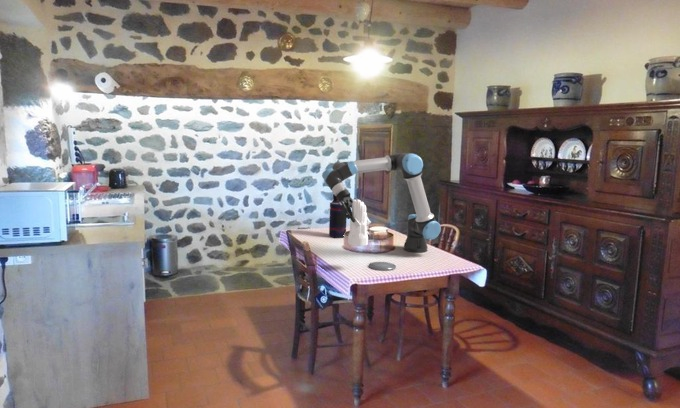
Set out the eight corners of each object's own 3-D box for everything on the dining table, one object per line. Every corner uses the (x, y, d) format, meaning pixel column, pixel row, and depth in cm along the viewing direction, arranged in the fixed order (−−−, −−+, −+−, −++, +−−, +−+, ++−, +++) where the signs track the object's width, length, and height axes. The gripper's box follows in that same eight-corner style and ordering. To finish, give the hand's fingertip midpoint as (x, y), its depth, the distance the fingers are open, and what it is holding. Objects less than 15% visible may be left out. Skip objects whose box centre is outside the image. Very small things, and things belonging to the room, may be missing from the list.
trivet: (378, 261, 280) (378, 260, 280) (400, 266, 271) (400, 265, 271) (363, 266, 268) (363, 265, 268) (386, 272, 259) (386, 270, 259)
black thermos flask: (348, 237, 339) (350, 195, 335) (332, 238, 335) (334, 195, 330) (340, 233, 352) (342, 192, 348) (325, 234, 347) (326, 193, 343)
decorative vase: (357, 240, 272) (359, 196, 268) (371, 244, 264) (373, 198, 261) (343, 243, 264) (345, 197, 260) (358, 247, 257) (360, 200, 253)
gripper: (349, 195, 278) (371, 226, 271) (325, 199, 261) (347, 232, 254) (356, 187, 274) (379, 218, 267) (333, 190, 257) (356, 223, 250)
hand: (364, 225), depth 261 cm, fingers closed on decorative vase, 9 cm apart
